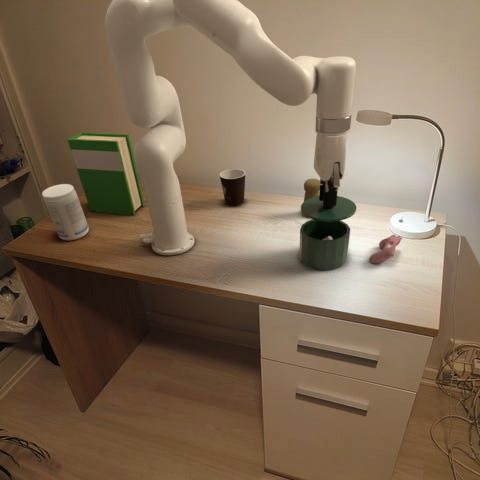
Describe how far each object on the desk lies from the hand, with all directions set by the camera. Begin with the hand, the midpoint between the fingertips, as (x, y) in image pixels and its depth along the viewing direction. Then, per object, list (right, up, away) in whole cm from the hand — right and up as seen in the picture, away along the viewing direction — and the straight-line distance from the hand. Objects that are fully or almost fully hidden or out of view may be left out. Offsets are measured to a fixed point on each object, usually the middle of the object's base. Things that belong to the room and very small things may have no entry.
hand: (327, 202), depth 102 cm
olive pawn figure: (+1, +5, +30) cm, 31 cm away
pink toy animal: (+17, -12, +9) cm, 23 cm away
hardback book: (-64, +10, +43) cm, 78 cm away
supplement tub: (-75, -2, +30) cm, 81 cm away
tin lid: (0, -1, +1) cm, 2 cm away
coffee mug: (-23, +12, +42) cm, 49 cm away
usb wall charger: (+1, -10, +8) cm, 13 cm away
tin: (+1, -12, +10) cm, 16 cm away
